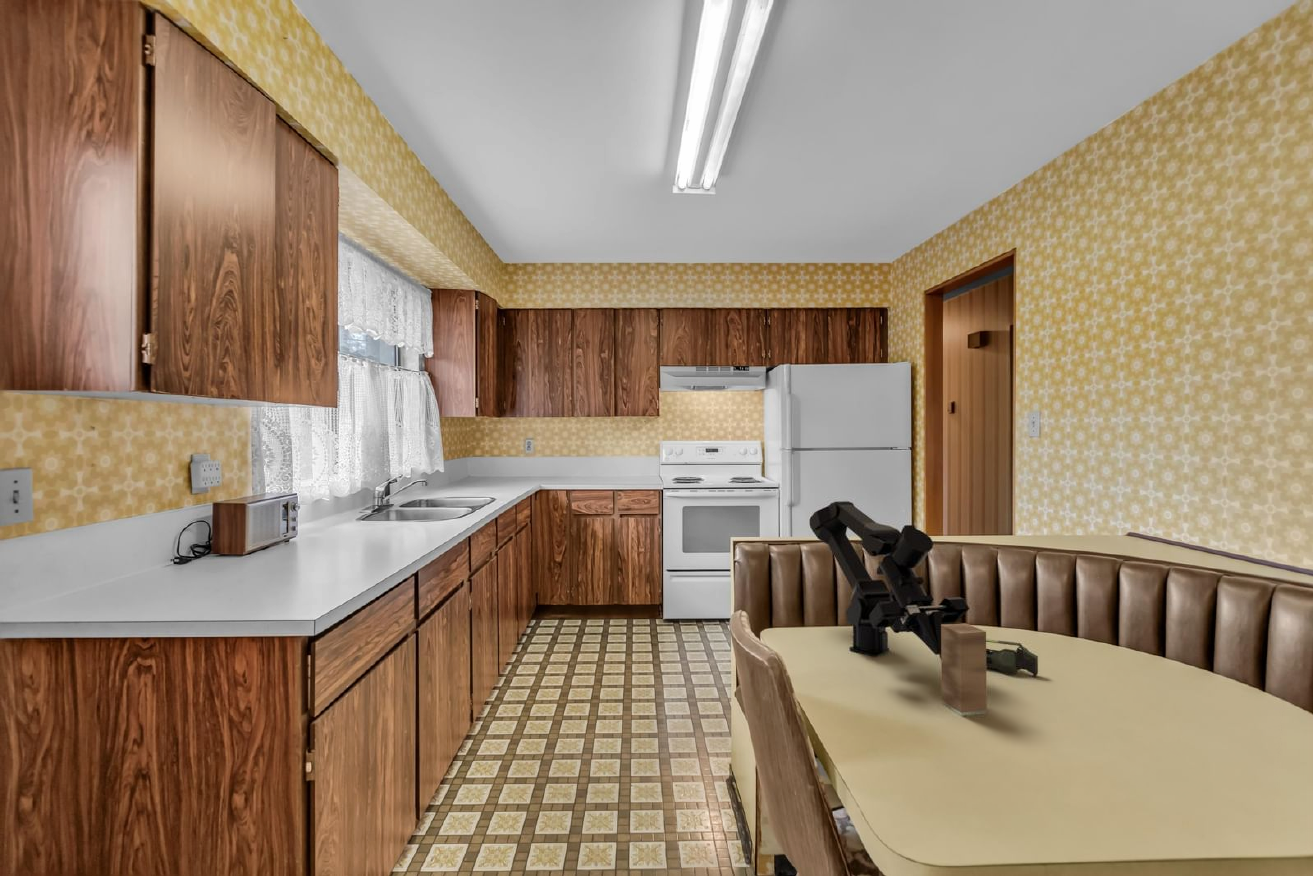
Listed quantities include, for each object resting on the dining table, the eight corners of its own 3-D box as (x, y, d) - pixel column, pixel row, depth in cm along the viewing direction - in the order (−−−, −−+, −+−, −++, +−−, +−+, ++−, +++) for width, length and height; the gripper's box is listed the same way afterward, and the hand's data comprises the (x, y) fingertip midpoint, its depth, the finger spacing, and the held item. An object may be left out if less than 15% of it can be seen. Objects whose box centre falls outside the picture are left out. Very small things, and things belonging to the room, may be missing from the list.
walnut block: (941, 704, 109) (941, 625, 109) (966, 701, 110) (965, 623, 110) (961, 716, 104) (960, 633, 104) (986, 713, 105) (986, 631, 105)
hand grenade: (942, 656, 134) (1038, 674, 123) (937, 662, 130) (1036, 682, 119) (942, 627, 134) (1038, 643, 123) (936, 633, 130) (1035, 650, 119)
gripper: (926, 600, 132) (962, 669, 121) (847, 604, 128) (876, 677, 117) (950, 570, 124) (991, 642, 113) (867, 574, 121) (900, 649, 110)
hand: (939, 653), depth 114 cm, fingers closed
